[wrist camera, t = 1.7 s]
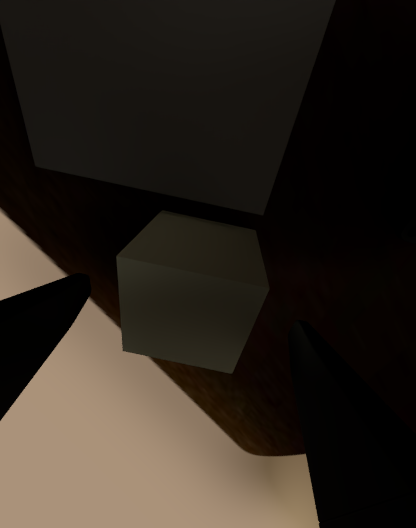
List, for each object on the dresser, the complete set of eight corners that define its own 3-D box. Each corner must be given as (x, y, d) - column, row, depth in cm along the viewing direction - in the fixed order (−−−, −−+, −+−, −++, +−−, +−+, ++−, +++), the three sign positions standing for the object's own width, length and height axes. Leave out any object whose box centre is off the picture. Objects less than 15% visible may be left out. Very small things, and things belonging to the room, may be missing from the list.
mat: (428, -291, 4) (449, -339, 4) (261, 212, 10) (263, 215, 10) (-87, -410, 4) (-122, -469, 4) (43, 165, 10) (35, 166, 10)
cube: (255, 229, 11) (269, 288, 7) (232, 299, 13) (232, 373, 9) (162, 209, 11) (116, 256, 7) (157, 283, 13) (122, 350, 9)
